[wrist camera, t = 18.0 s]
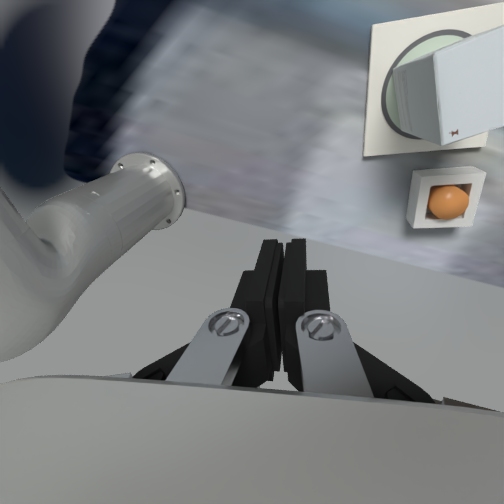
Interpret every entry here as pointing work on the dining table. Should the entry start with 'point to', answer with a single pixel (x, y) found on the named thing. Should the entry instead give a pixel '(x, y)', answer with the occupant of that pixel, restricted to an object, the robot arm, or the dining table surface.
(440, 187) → the button
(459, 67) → the supplement box
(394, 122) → the picture board
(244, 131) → the dining table surface
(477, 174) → the button housing
